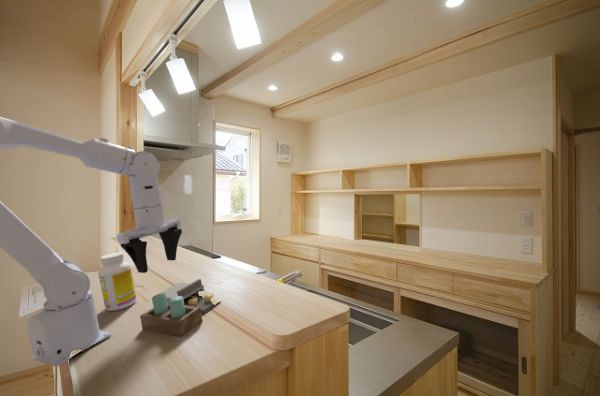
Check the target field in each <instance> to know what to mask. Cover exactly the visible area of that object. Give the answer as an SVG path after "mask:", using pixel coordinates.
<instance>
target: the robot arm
mask: <svg viewBox="0 0 600 396" xmlns="http://www.w3.org/2000/svg"><path fill="white" fill-rule="evenodd" d="M20 147H25V148H30V149H36V150H40V151H44V152H50V153H53V154H59V155H63V156H69V157H73V158H77V159H79V160H80V161H81V162H82V163H83V165H84V166H85V167H86V168H92V169H96V170H100V171H104V172H109V173H113V174H118V175H123V174H124V175H125V176H126V177H128V182H129V191H130V196H131V203H132V208H133V214H134V221H135V227H136V228H133V229H130V230H128V231H124V232H121V233H118V234H116V236H117V237H116V238H117V242H118V243H117V244H119V245H120V247H121V249H123V250H124V252H125V253H127V255H128V256H129V258H130V259H131V260H132V262H133V264H134V266H135V268H136V270H137V272H138V273H141V274H145V273H148V269H149V268H148V260H147V246H148V245H147V244H148V241H145V240H143V241H142V239H143V238H147V237H149V236H153V235H157V234H158V235H159V237H160V239H161V241H162V244H163V248H164V252H165V253H164V254H165V257H166V260H167V261H175V260H176V259H177V251H178V245H179V240H180V239H181V235H182V233H183V229H182V228H181V227H182V224H181V219H180V218H176V219H175V218H174V219H170V220H165V214H164V208H163V201H162V196H161V189H160V184H159V180H158V173H159V172H160V170H161V162H159V161H158V159H157V158H156V156H154V154H153V153H151V152H149V151H145V150H141V151H137V152H136V151H135V147H133V146H128V147H126V146H121V145H118V144H115V143H112V142H109V139H108V138H106V137H100V138H99V139H98V138H91V139H88V140H87V141H81V140H77V139H74V138H71V137H67V136H64V135H62V134H58V133H55V132H52V131H49V130H45V129H42V128H38V127H36V126H32V125H29V124H25V123H23V122H19V121H16V120H12V119H8V118H5V117H2V116H0V150H1V151H5V150H10V149H15V148H20ZM0 249H2V250H3V251H4V252H5V253H7V255H8V256H9V257H11V258H12V259H13V260H14V261H15V262H17V263H18V264H19V265H20V266H21V267H23V268H24V269H25V270H26V272H28V273H29V275H30V276H31V277H32V278H33V280H34V281H35V282H36V283H38V284H39V285H40V286H41V288H42V289H43V292H44V293H43V294H44V297H45V299H46V301H45V302H44V303H43V306H42V307H43V308H42V310H40V311H39V312H37V313H35V314H34V315H31V316H30V317H29V318H28V320H27V324H26V325H27V333H28V336H29V342H30V345H31V350H32V354H33V355H32V360H35V361H38V362H40V363H43V364H46V365H49V366H53V367H59V366H62V364H64V363H66V362H68V361H70V359H69V357H70V354H71V352H72V351H74V350H79V349H80V350H84V349H86V348H88V347H90V346H92V345H94V344H95V345H97V344H99V343H100V342H102V341H104V340H105V339H107V338H108V337H110V336H111V335H112V332H109V331H104V330H102V329H101V330H100V324H99V320H98V315H97V314H98V313H97V309H96V305H95V300H94V299H95V298H94V295H93V291H92V290H91V289H90V287H91V281H90V278H89V276H88V274H86V273H85V272H84V271H83V269H82V267H81V266H79V264H77V263H75V262H72V261H68V260H66V259H64V258H63V257H61V256H60V254H58V253H57V252H56V251H55V250H53V249H52V248H51V246H50V245H48V244H47V243H46V242H45V241H44V240H43V239H42V238H40V236H39V235H37V233H35V232H34V231H33V230H32V229H31V228H30V227H29V226H28V225H27V224H25V222H23V221H22V220H21V219H20V218H19V217H18V216H17V215H16V214H15V213H14V212H13V211H12V210H11V209H10V208H9V207H8V206H6V205H5V204H4V202H3V201H1V200H0ZM98 342H99V343H98ZM96 343H97V344H96ZM95 345H94V346H95ZM92 347H93V346H92ZM90 348H91V347H90ZM88 349H89V348H88Z"/></svg>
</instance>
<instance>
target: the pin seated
mask: <svg viewBox="0 0 600 396" xmlns="http://www.w3.org/2000/svg"><path fill="white" fill-rule="evenodd" d="M157 294H158V295H157ZM157 294H155V295H154V296H152V297H151V302H152V307H153V308H154V314H155V315H158V316H161V315H162V314H164V313H166V312H167V311H169V310H168V304H167V299H166V294H164V293H162V294H159V293H157Z"/></svg>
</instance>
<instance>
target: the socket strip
mask: <svg viewBox="0 0 600 396" xmlns="http://www.w3.org/2000/svg"><path fill="white" fill-rule="evenodd" d="M167 304H168V310H169V311H167V312H166V313H164V314H162V315H161V316H158V315H155V314H154V308H151V309H149V310H147V311H145V312H143V313H142V314H141V315H139V317H140V322H141V323H140V324H141V328H142V330H144V331H147V332H154V333H158V334H163V335H169V336H175V337H178V338H182V337H184V336H185V335H186V334H188V333H189V332H190V331H191V330H193V329H194V328H196V327H197V326H198V325H200V324H201V323H202V322H203V316H202V313H201V308H200V307H194V306H187V305H186V304H184V306H185V313H186V315H185V316H183V317H182V318H180V319H176V318H172V317H171V311H170V305H169V303H167Z"/></svg>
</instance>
